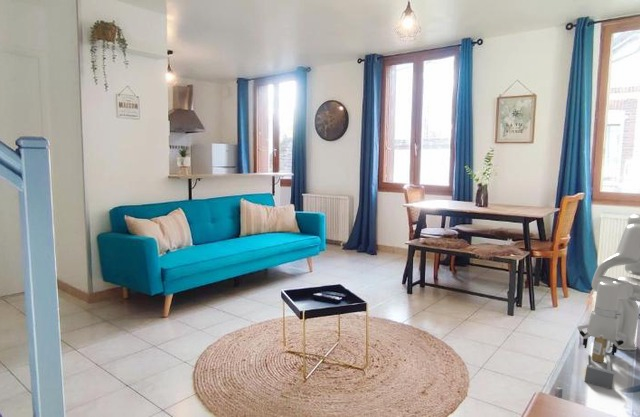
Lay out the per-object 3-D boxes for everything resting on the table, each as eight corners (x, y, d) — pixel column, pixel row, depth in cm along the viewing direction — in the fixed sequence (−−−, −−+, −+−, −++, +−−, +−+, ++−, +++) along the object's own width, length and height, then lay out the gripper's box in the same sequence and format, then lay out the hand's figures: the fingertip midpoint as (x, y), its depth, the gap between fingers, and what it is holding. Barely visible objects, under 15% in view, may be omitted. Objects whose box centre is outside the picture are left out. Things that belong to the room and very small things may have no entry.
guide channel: (585, 353, 184) (587, 340, 183) (609, 359, 180) (611, 346, 179) (584, 381, 161) (586, 366, 160) (611, 389, 157) (614, 374, 156)
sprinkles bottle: (606, 363, 176) (611, 332, 174) (595, 362, 176) (600, 332, 174) (598, 357, 181) (603, 327, 179) (588, 357, 180) (593, 327, 178)
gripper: (630, 314, 174) (623, 353, 176) (580, 303, 183) (575, 341, 185) (631, 320, 167) (624, 360, 170) (580, 309, 176) (574, 347, 179)
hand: (598, 350), depth 178 cm, fingers open, 9 cm apart
